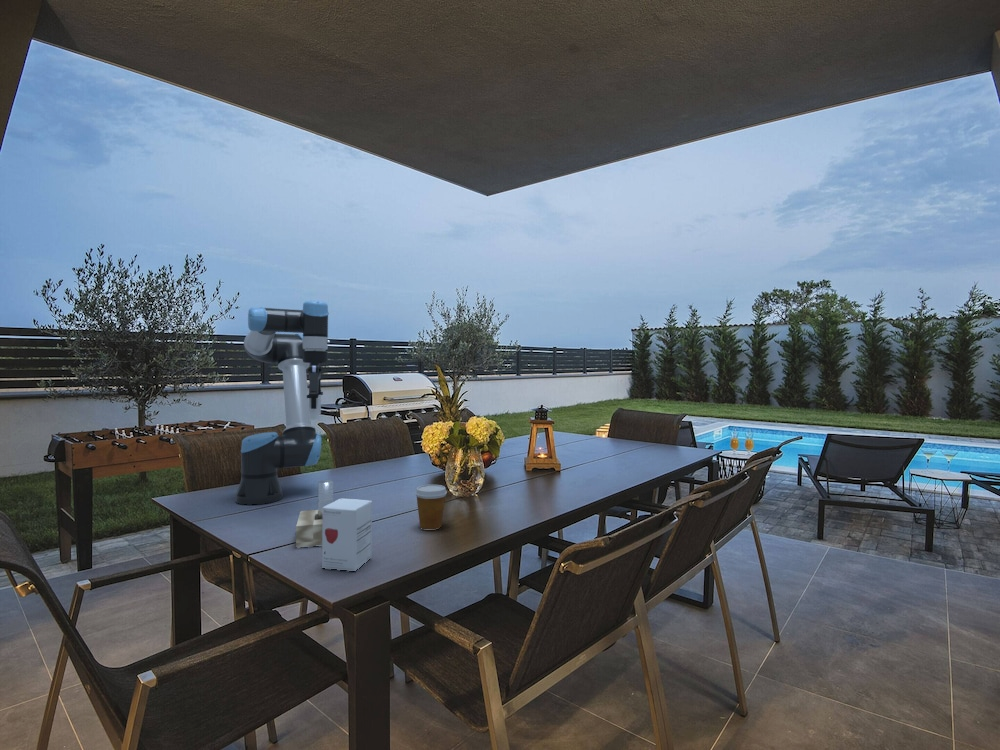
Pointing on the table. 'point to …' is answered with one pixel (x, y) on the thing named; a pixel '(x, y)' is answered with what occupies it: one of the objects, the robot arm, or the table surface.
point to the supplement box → (346, 534)
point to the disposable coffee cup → (430, 505)
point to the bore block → (308, 529)
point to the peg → (324, 496)
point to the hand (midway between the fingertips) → (315, 417)
